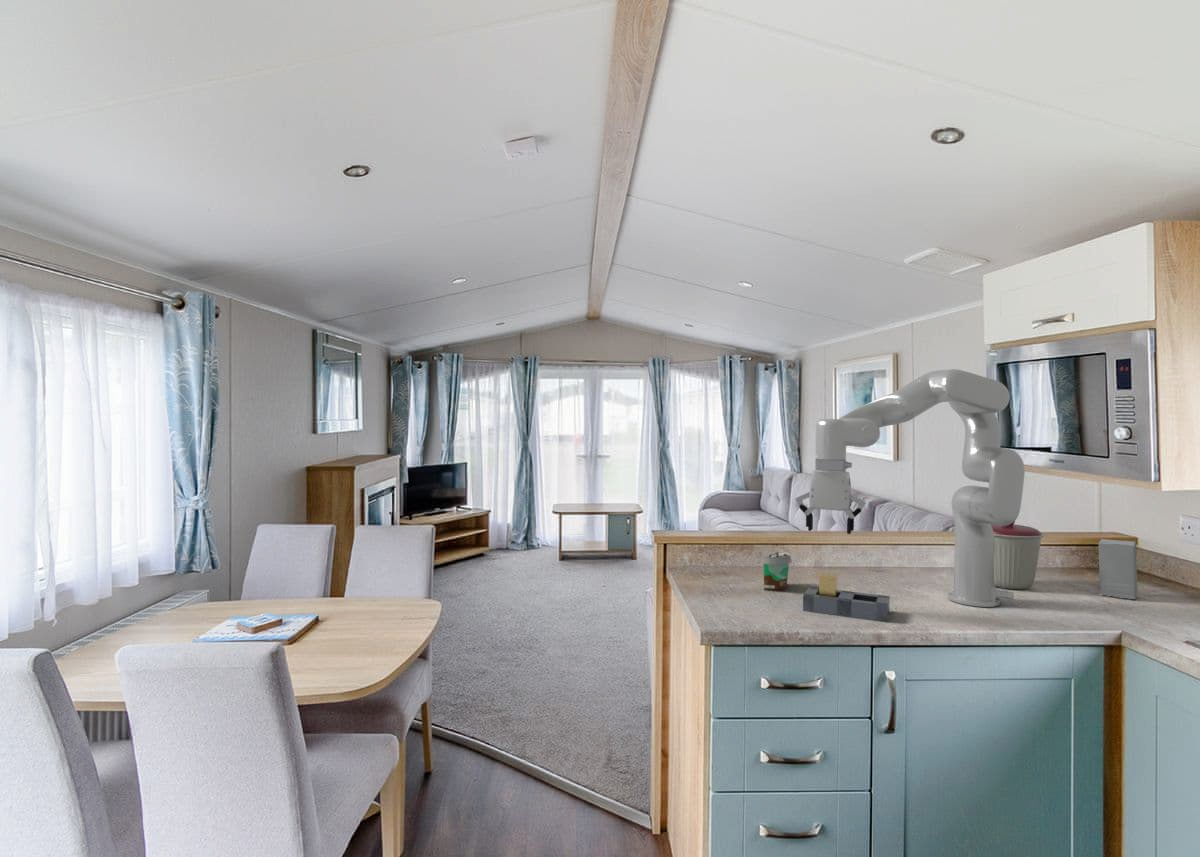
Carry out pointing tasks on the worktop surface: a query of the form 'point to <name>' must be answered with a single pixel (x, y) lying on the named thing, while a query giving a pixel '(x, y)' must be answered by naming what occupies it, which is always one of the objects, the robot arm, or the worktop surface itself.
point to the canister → (1015, 555)
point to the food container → (776, 571)
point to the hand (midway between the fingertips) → (829, 531)
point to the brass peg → (828, 584)
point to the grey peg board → (848, 604)
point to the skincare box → (1118, 568)
